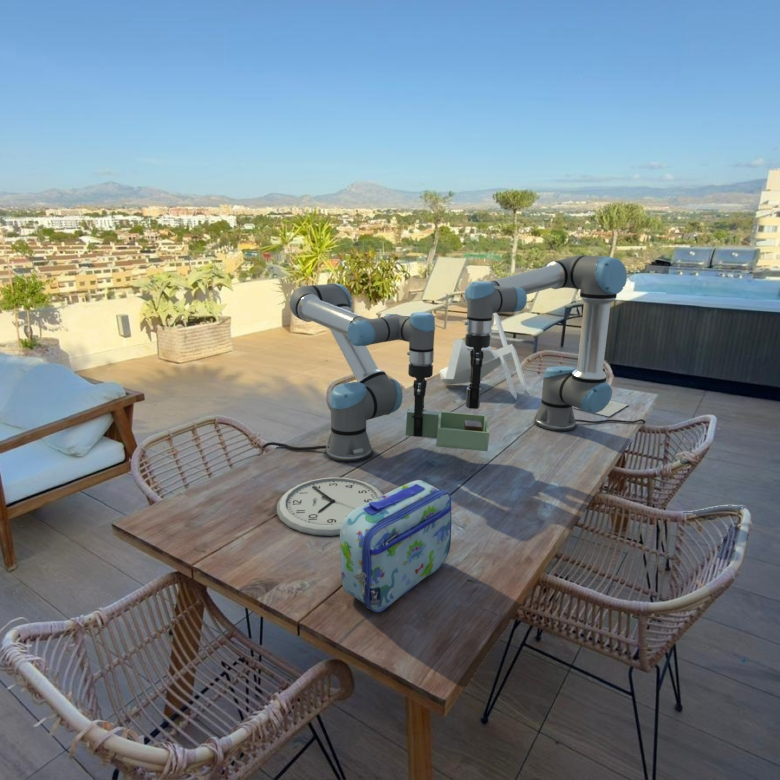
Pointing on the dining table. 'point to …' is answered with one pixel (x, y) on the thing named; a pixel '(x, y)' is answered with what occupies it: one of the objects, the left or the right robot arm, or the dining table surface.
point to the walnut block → (472, 425)
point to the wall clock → (323, 504)
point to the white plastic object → (483, 362)
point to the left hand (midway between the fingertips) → (418, 433)
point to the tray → (451, 429)
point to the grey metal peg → (469, 397)
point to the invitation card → (611, 408)
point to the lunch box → (394, 543)
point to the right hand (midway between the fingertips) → (473, 405)
